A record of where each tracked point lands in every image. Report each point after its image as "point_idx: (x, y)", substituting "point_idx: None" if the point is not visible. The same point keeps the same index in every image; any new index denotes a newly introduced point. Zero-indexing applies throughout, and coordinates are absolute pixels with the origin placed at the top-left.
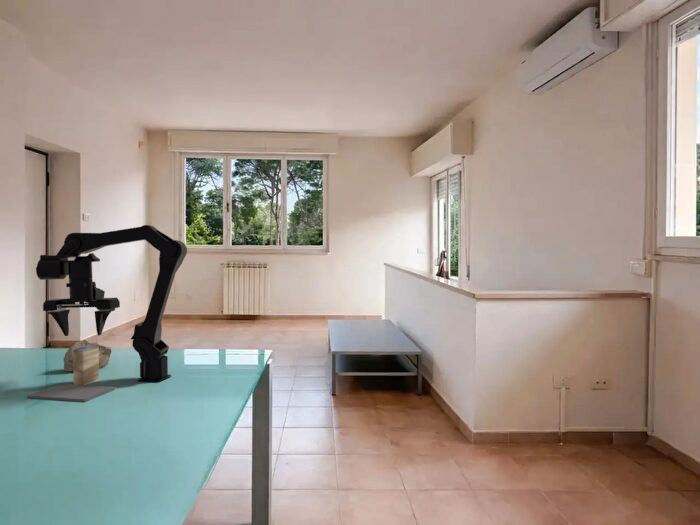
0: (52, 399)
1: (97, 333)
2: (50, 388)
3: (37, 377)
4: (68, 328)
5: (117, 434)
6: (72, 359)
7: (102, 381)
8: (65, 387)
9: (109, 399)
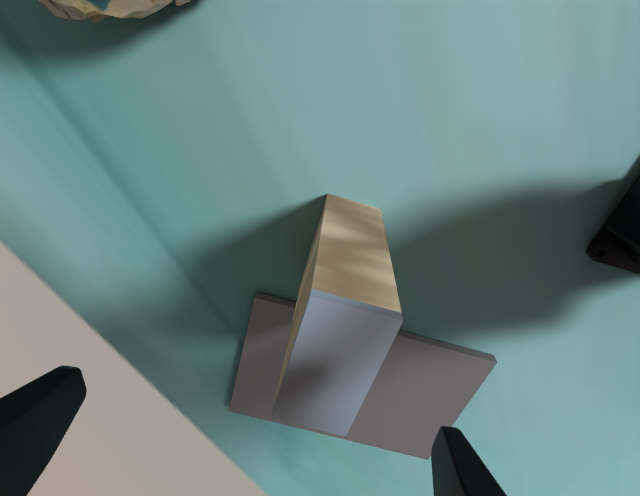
0: None
1: (435, 479)
2: (253, 353)
3: (30, 127)
4: (8, 430)
5: None
6: (93, 14)
7: (406, 235)
8: None
9: (494, 441)
